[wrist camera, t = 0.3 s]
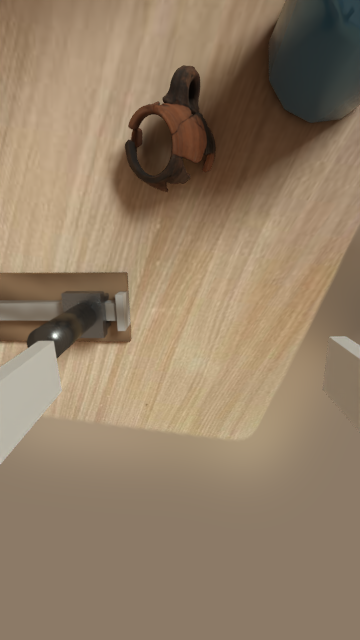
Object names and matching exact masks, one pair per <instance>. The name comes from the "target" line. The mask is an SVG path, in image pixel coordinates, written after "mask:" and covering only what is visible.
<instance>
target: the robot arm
mask: <svg viewBox="0 0 360 640" xmlns="http://www.w3.org/2000/svg"><path fill="white" fill-rule="evenodd" d="M323 390H324V392H325V393H326V394H327V395H328V396H329V397H330V399H331V400H332V401H333V402H334V403H335V404H336V406H337V407H338V408H339V409H340V410H341V411H342V412H343V414H344V415H345V416H346V417H347V418H348V420H349V421H350V422H351V423H352V424H353V425H354V426H355V428H356V429H357V430H358V431H359V432H360V345H358V344H357V343H355V342H354V341H352V340H351V339H349V338H347V337H346V336H341V337H329V342H328V349H327V357H326V365H325V373H324V381H323ZM61 392H62V388H61V382H60V376H59V370H58V364H57V358H56V352H55V346H54V341H38V342H36V343H35V344H33V345H32V346H30V347H29V348H27V349H26V350H24V351H23V352H21V353H20V354H18V355H17V356H16V357H14V358H13V359H11V360H10V361H8V362H7V363H5V364H4V365H2V366H1V367H0V464H1V463H2V462H3V460H5V458H6V457H7V456H8V455H9V453H10V452H11V451H12V450H13V448H15V446H16V445H17V444H18V443H19V441H20V440H21V439H22V438H23V436H25V434H26V433H27V432H28V431H29V430H30V429H31V427H32V426H33V425H34V424H35V423H36V421H37V420H38V419H39V418H40V417H41V415H42V414H43V413H44V412H45V411H46V409H47V408H48V407H49V406H50V405H51V404H52V402H53V401H54V400H55V399H56V398H57V396H58V395H59V394H60V393H61Z"/></svg>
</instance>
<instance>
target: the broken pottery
mask: <svg viewBox="0 0 360 640" xmlns="http://www.w3.org/2000/svg"><path fill="white" fill-rule="evenodd" d="M199 92H200V77H199V74H198V72H197V71H196V70H195V68H194V67H193V66H185V65H184V66H181V67H180V68H178V69H177V70H176V72H175V73H174V75H173V77H172V80H171V84H170V89H169V91H168V93H167V94H166V95H165V96H164V97H163V102H164V103H163V104H162V105H160V103H159V102H156V103H154V104H149V105H146V106H143V107H141V108H139V109H138V110H137V111H136V112H135V114H134V115H133V116H132V118H131V120H130V122H129V125H128V127H129V128H131V129H133V132H132V138H131V140H128V141H127V142H126V144H125V149H126V155H127V159H128V162H129V165H130V167H131V169H132V170H133V172H134V173H135V174H136V175H137V176H138V178H140V179H141V180H143V181H144V182H146V183H147V184H149V185H150V186H152V187H155V188H157V189H160V190H162V191H165V192H168V189H167V185H166V182H169V183H171V184H178V183H185V182H187V181H188V180H189V179H190V175H189V174H188V173H186V169H185V167H184V164H183V160H182V158H185V159H188V160H191V161H193V162H194V163H197V162H200V161H201V160H202V157H203V154H204V155H206V154H207V158H206V161H205V164H204V167H203V169H202V170H203V171H204V172H207V171H210V169H211V167H212V165H213V162H214V157H215V141H214V137H213V134H212V132H211V130H210V129H209V127H208V126H207V123H206V121H205V120H204V118H203V115H202V114H201V113H199V107H198V98H199ZM151 114H156V115H159V116H160V117H162V118H163V119H164V121H165V122H166V123H167V125H168V127H169V129H170V132H171V135H172V156H171V159H170V161H169V164H168V166H167V167H166V168H165V170H164V171H163V172H162V173H160V174H159V175H156V176H151V175H148V174H147V173H145V172H144V171H143V169H142V168H141V166H140V165H139V162H138V160H137V149H136V148H137V147H139V146H140V145H141V144H142V130H141V129H140V128H139V125H140V123H141V122H142V120H143V119H144V118H145V117H147V116H148V115H151ZM192 114H193V115H192Z"/></svg>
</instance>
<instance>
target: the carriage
mask: <svg viewBox="0 0 360 640" xmlns="http://www.w3.org/2000/svg"><path fill="white" fill-rule="evenodd" d="M61 297H62V305H63V313H61V314H60V315H58V316H56V317H55V318H53V319H51V320H50V321H48V322H46V323H45V324H43V325H41V326H40V327H38V328H36V329H35V330H33V331H32V332H31V333H30V334H29V336H28V339H27V345H28V348H29V347H30V346H32V345H33V344H35V343H36V342H38V341H54V346H55V352H56V358H58V357H59V356H60V355H61V354H62V353H63V352H64V351H65V350H66V349H67V348H69V347H70V346H71V345H72V344H73V343H74V342H75V341H76V340H77V339H78V338H105V336H106V335H107V334H108V332H107V329H108V328H109V327H110V326H111V321H107V320H106V309H105V302H106V301H107V300H108V299H109V294H108V293H104V291H66V292H63V293H61Z"/></svg>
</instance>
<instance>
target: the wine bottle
mask: <svg viewBox="0 0 360 640" xmlns="http://www.w3.org/2000/svg"><path fill="white" fill-rule="evenodd" d="M269 81H270V83H271V85H272V87H273V89H274V91H275V93H276V95H277V96H278V98H279V100H280V102H281V104H282V106H283V108H284V109H285V110H287V111H288V112H290V113H292V114H294V115H296V116H298V117H300V118H302V119H304V120H306V121H307V122H310V123H314V122H322V121H329V120H337V119H342V118H343V117H344V116H346V115H347V114H348V113H350V112H351V111H352V110H354V109H355V108H356V107H358V106H359V105H360V0H286V1H285V3H284V6H283V8H282V11H281V13H280V16H279V18H278V21H277V23H276V26H275V28H274V31H273V33H272V36H271V38H270V41H269Z"/></svg>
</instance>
